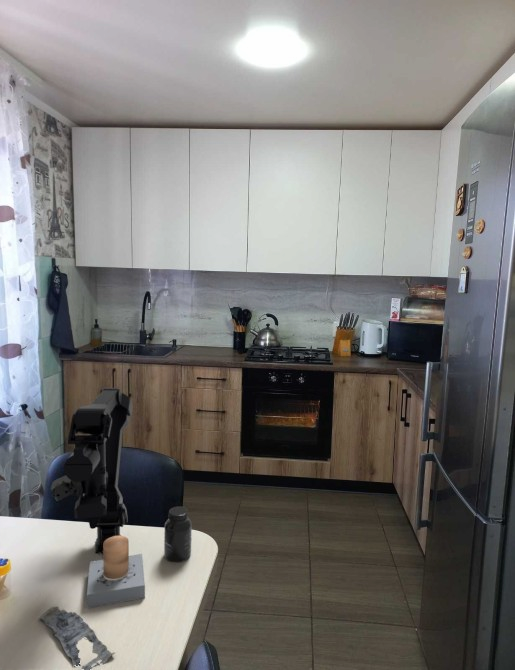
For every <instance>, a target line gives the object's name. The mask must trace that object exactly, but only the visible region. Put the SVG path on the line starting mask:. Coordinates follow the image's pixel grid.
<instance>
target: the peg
mask: <svg viewBox="0 0 515 670" xmlns="http://www.w3.org/2000/svg"><path fill="white" fill-rule="evenodd" d="M129 540H130V539H129V538H128V537H127V536H124V535H121V536H113V537H110V538H108V539H106V540H105V541H104V543H103V552H102V553H103V554H102V556H103V557H102V558H103V559H102V560H103V563H104V573H103V576H104V578H105V579H107V580H110V581H116V580H120V579H123V578H124V577H126V576H127V575H128V573H129V556H130V554H129V552H130V551H129V550H130V549H129V548H130V544H129V543H130V541H129Z"/></svg>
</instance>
